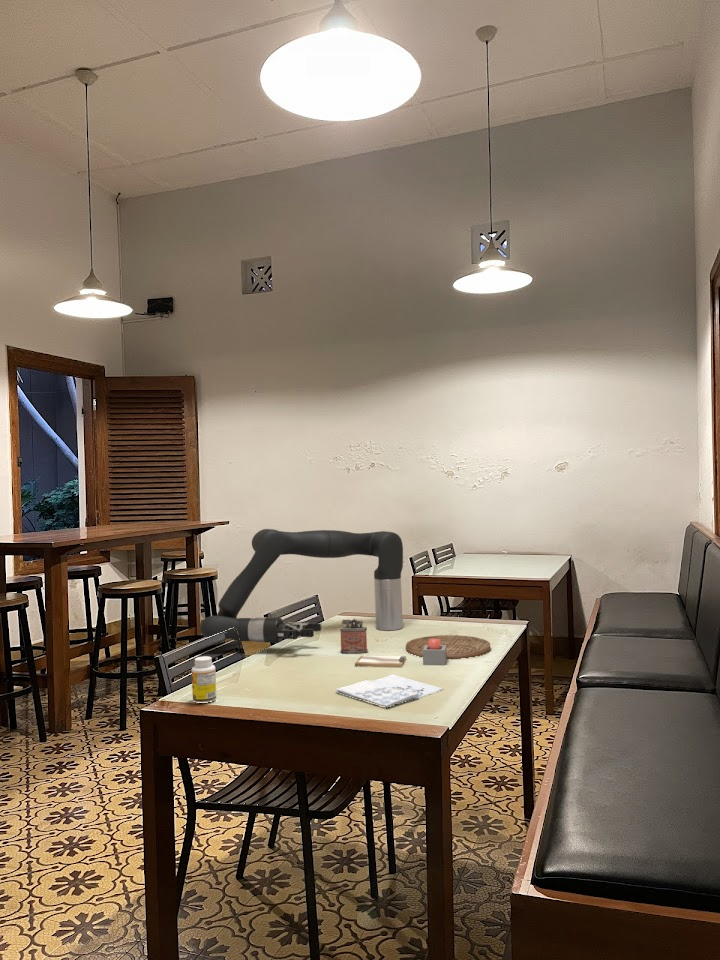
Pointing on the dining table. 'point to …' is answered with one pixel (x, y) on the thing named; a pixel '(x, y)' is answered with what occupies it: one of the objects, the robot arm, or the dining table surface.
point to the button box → (434, 655)
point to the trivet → (452, 646)
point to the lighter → (353, 637)
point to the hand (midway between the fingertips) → (317, 630)
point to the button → (434, 643)
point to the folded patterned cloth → (388, 690)
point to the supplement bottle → (203, 680)
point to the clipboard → (381, 661)
